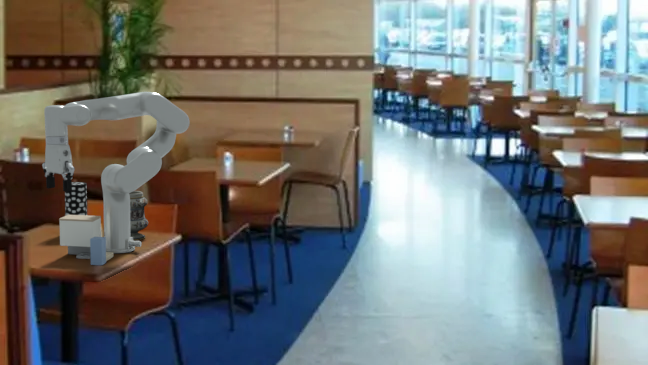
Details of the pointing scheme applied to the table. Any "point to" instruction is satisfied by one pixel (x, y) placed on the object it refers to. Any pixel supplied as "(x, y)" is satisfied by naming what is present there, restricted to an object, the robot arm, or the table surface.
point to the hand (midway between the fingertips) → (59, 189)
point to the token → (84, 256)
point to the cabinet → (79, 232)
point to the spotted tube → (76, 199)
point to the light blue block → (99, 251)
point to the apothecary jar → (137, 214)
